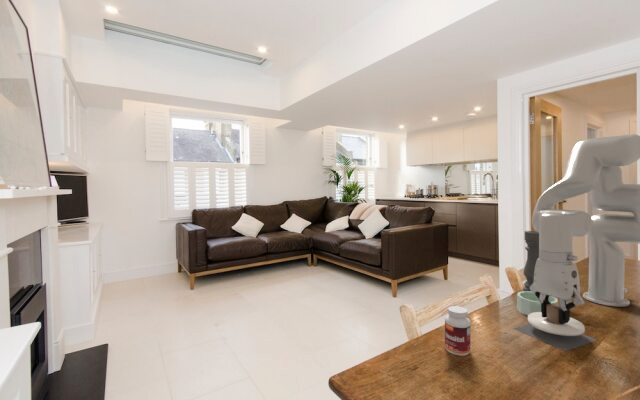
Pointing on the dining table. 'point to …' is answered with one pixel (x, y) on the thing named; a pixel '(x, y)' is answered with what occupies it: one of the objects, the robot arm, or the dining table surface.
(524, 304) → the bowl
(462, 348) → the pill bottle
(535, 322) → the lid
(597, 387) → the dining table surface
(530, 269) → the candle holder
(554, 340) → the mat
